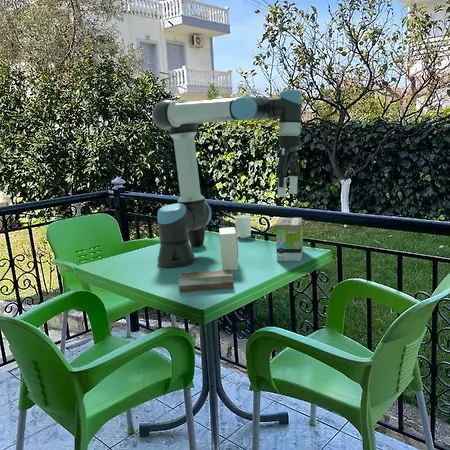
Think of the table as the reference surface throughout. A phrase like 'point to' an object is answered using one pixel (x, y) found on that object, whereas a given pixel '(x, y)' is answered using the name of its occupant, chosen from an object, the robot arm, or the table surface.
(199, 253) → the table surface
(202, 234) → the mug
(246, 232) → the white cup
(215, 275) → the shelf board
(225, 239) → the cream carton
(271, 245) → the table surface
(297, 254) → the tea box
